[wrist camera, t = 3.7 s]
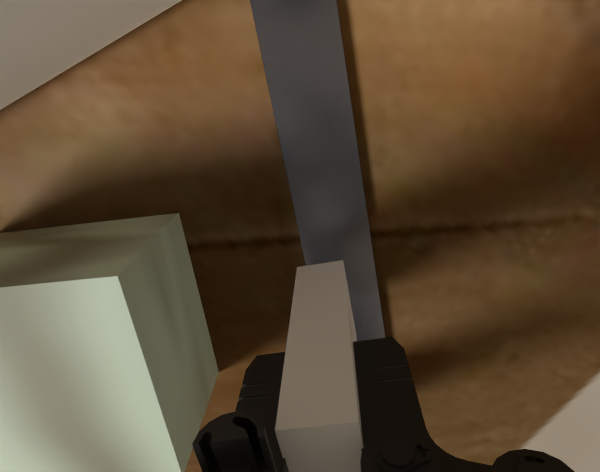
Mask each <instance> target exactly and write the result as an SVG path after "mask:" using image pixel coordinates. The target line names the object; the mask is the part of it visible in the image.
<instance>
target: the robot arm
mask: <svg viewBox="0 0 600 472" xmlns="http://www.w3.org/2000/svg"><path fill="white" fill-rule="evenodd" d="M192 445H193V448H194V451H195V453H196V456H197V458H198V461H199V464H200V466H201V469H202V471H203V472H574V471H573V470H572V469H571V468H570V467H568V466H567V465H566V464H565V463H563V462H562V461H561V460H559V459H557V458H555V457H552V456H550V455H548V454H546V453H544V452H539V451H534V450H528V449H521V450H513V451H508V452H507V453H505V454H503V455H501V456H500V457H498V458H497V459H496V460H495V462H494V464H493V465H492V466H491V465H486V464H481V463H476V462H470V461H466V460H463V459H460V458H456V457H454V456H452V455H450V454H448V453H447V452H445V451H444V450H442V449H441V448H440V447H439V446H437V445H436V444H435V442H434V441H433V440H432V439H431V437H430V436H429V434H428V431H427V429H426V426H425V422H424V419H423V415H422V412H421V408H420V405H419V401H418V397H417V394H416V390H415V387H414V383H413V379H412V376H411V372H410V369H409V366H408V361H407V358H406V354H405V351H404V348H403V347H402V346H401V345H400V344H399V343H398V342H397V341H396V340H395V339H394V338H393V337H386V338H378V339H371V340H363V341H357V338H356V330H355V325H354V319H353V313H352V307H351V302H350V296H349V290H348V285H347V279H346V273H345V268H344V262H343V260H340V261H334V262H327V263H321V264H314V265H308V266H301V267H297V270H296V278H295V285H294V293H293V300H292V307H291V315H290V322H289V330H288V337H287V344H286V352H281V353H273V354H265V355H258V356H256V358H255V359H254V360H253V361H252V363H251V364H250V365H249V367H248V368H247V369H246V372H245V376H244V380H243V384H242V388H241V391H240V395H239V401H238V403H237V407H236V411H235V412H232V413H228V414H224V415H221V416H219V417H218V418H216V419H214V420H212V421H210V422H209V423H208V424H207V425H206V426H205V427H204V428H203V429H202V430H200V431H199V433H198V434H197V436H196V438H195V440H194V441H193V443H192Z"/></svg>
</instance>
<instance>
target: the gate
mask: <svg viewBox="0 0 600 472" xmlns="http://www.w3.org/2000/svg"><path fill="white" fill-rule="evenodd" d="M180 1H182V0H0V110H1V109H3V108H4V107H6V106H8V105H9V104H11V103H13V102H14V101H16V100H18V99H19V98H21V97H23V96H24V95H26V94H28V93H29V92H31V91H33V90H34V89H36V88H38V87H39V86H41V85H43V84H44V83H46V82H48V81H49V80H51V79H52V78H54V77H56V76H57V75H59V74H61V73H62V72H64V71H66V70H67V69H69V68H71V67H72V66H74V65H76V64H77V63H79V62H81V61H82V60H84V59H86V58H87V57H89V56H91V55H92V54H94V53H96V52H97V51H99V50H101V49H102V48H104V47H106V46H107V45H109V44H110V43H112V42H114V41H115V40H117V39H119V38H120V37H122V36H124V35H125V34H127V33H129V32H130V31H132V30H134V29H135V28H137V27H139V26H140V25H142V24H144V23H145V22H147V21H149V20H150V19H152V18H154V17H155V16H157V15H159V14H160V13H162V12H164V11H165V10H167V9H168V8H170V7H172V6H173V5H175V4H177V3H178V2H180Z"/></svg>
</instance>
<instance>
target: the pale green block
mask: <svg viewBox="0 0 600 472" xmlns="http://www.w3.org/2000/svg"><path fill="white" fill-rule="evenodd" d="M218 373H219V371H218V367H217V363H216V359H215V355H214V351H213V347H212V343H211V339H210V335H209V331H208V327H207V323H206V319H205V315H204V311H203V307H202V303H201V299H200V295H199V291H198V287H197V283H196V279H195V275H194V271H193V267H192V263H191V259H190V255H189V251H188V247H187V243H186V239H185V235H184V231H183V227H182V223H181V219H180V215H179V213H174V214H165V215H156V216H147V217H138V218H129V219H120V220H111V221H103V222H94V223H85V224H76V225H67V226H58V227H49V228H40V229H31V230H22V231H13V232H4V233H0V472H185V469H186V466H187V463H188V460H189V458H190V455H191V452H192V449H193V445H192V443H193V441H194V440H195V438H196V436H197V434H198V431H199V428H200V425H201V423H202V420H203V417H204V414H205V411H206V408H207V405H208V402H209V399H210V396H211V393H212V390H213V388H214V385H215V382H216V379H217V376H218Z"/></svg>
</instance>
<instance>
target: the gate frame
mask: <svg viewBox="0 0 600 472" xmlns="http://www.w3.org/2000/svg"><path fill="white" fill-rule="evenodd" d="M250 2H251V7H252V12H253V16H254V21H255V26H256V31H257V35H258V40H259V45H260V50H261V54H262V59H263V64H264V69H265V73H266V78H267V83H268V88H269V92H270V97H271V102H272V107H273V111H274V116H275V121H276V126H277V130H278V135H279V140H280V145H281V149H282V154H283V159H284V164H285V168H286V173H287V178H288V183H289V187H290V192H291V197H292V202H293V206H294V211H295V216H296V221H297V225H298V230H299V235H300V240H301V244H302V249H303V254H304V259H305V263H306V266H308V265H314V264H321V263H327V262H334V261H340V260H343V262H344V268H345V273H346V279H347V285H348V290H349V296H350V302H351V307H352V313H353V319H354V325H355V330H356V338H357V341H363V340H371V339H378V338H385V332H384V325H383V318H382V312H381V305H380V298H379V291H378V284H377V277H376V270H375V263H374V256H373V249H372V243H371V236H370V229H369V222H368V215H367V208H366V201H365V194H364V187H363V181H362V174H361V167H360V160H359V153H358V146H357V139H356V132H355V125H354V118H353V112H352V105H351V98H350V91H349V84H348V77H347V70H346V63H345V56H344V50H343V43H342V36H341V29H340V22H339V15H338V8H337V1H336V0H250Z"/></svg>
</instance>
